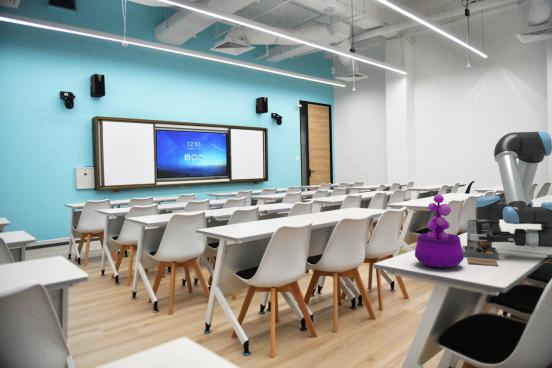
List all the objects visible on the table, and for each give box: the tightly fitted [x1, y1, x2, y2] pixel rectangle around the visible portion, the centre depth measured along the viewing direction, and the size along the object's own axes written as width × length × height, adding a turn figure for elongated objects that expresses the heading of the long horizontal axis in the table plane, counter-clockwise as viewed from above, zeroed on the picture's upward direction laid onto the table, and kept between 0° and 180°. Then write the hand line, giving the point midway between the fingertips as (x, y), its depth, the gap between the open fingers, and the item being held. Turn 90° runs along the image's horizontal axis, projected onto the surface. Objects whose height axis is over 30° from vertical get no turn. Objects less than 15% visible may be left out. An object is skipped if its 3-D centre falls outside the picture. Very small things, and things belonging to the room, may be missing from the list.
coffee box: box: [466, 219, 493, 253], centre depth 183 cm, size 9×6×16 cm
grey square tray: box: [461, 245, 500, 261], centre depth 183 cm, size 14×14×3 cm
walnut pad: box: [466, 257, 499, 267], centre depth 170 cm, size 11×11×1 cm
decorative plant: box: [414, 193, 465, 269], centre depth 165 cm, size 19×18×30 cm
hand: (469, 234), depth 185 cm, fingers closed on coffee box, 10 cm apart
